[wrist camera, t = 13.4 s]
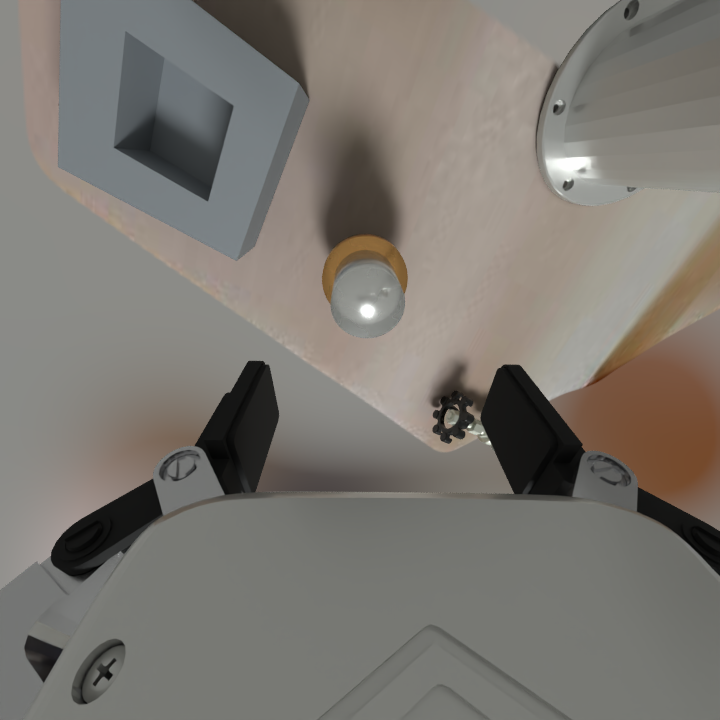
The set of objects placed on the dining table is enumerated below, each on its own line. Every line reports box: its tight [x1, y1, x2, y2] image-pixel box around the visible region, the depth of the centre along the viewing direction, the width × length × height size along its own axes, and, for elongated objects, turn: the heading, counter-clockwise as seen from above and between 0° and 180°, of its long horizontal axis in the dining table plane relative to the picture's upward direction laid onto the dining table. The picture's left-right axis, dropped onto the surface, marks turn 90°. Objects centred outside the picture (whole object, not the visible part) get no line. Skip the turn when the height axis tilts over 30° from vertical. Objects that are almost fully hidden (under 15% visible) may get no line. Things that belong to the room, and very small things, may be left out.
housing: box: [58, 0, 309, 261], centre depth 20 cm, size 12×12×5 cm
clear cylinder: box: [322, 234, 408, 338], centre depth 24 cm, size 7×7×10 cm
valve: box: [433, 391, 494, 450], centre depth 37 cm, size 7×7×12 cm
